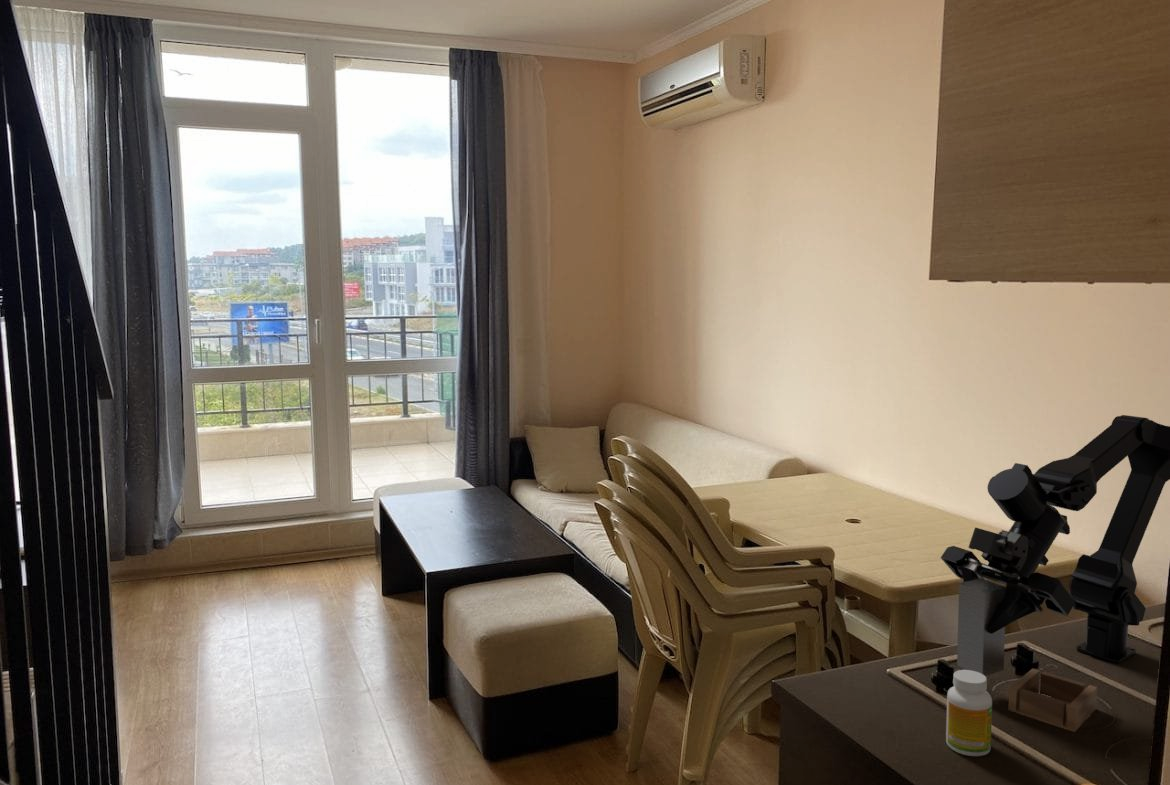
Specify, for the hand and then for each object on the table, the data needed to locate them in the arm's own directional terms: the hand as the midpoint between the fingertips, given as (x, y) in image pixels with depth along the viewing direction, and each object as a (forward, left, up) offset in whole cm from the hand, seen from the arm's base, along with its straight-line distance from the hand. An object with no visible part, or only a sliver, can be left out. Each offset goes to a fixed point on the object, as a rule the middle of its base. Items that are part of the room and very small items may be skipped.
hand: (974, 626), depth 126 cm
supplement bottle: (+13, +7, -11) cm, 18 cm away
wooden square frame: (-5, +9, -11) cm, 15 cm away
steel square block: (-1, 0, -7) cm, 7 cm away
